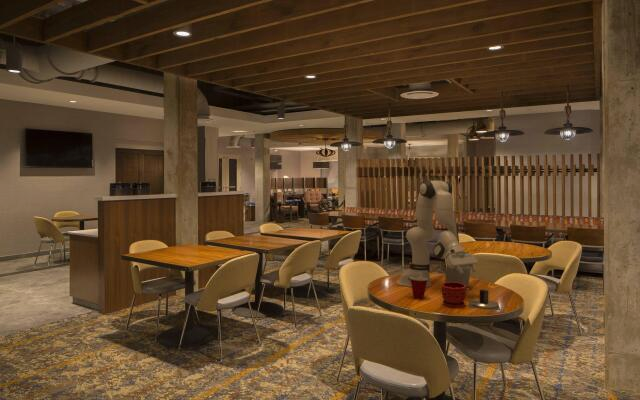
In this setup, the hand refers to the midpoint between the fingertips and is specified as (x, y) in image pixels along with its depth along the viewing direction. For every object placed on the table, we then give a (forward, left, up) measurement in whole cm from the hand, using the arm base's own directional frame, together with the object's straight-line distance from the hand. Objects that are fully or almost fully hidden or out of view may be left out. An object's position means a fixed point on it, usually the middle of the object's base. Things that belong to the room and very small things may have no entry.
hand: (468, 272), depth 263 cm
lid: (+8, -9, -16) cm, 20 cm away
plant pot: (-8, -13, -17) cm, 23 cm away
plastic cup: (-28, -2, -17) cm, 33 cm away
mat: (+8, -9, -16) cm, 20 cm away
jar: (-5, +30, -17) cm, 35 cm away
